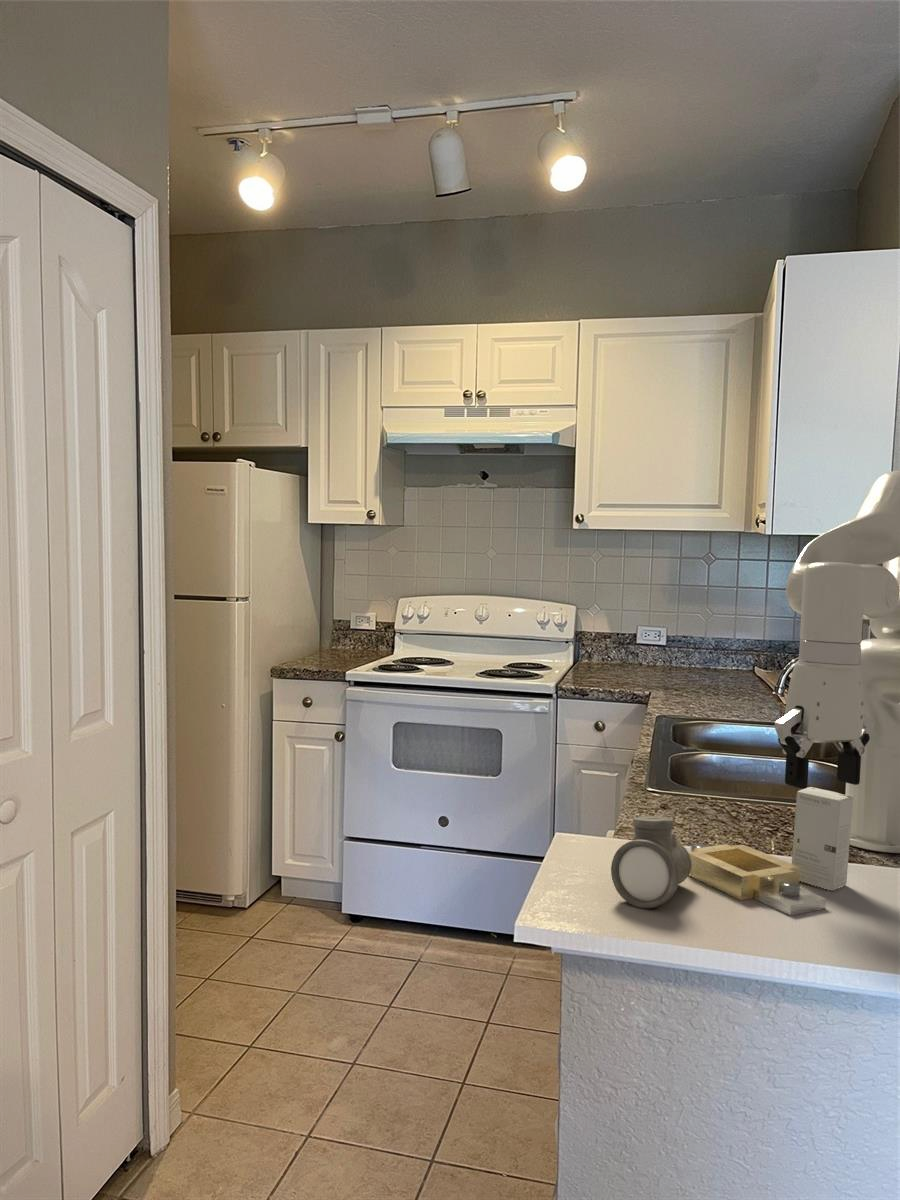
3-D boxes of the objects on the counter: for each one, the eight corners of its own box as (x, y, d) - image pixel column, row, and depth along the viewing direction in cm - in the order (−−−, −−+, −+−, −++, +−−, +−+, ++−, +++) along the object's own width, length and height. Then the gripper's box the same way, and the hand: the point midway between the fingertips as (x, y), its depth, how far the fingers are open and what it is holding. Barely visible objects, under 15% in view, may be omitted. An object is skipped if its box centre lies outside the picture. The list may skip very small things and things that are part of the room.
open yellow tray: (711, 852, 129) (712, 832, 129) (837, 906, 109) (838, 882, 109) (657, 860, 124) (658, 839, 124) (778, 917, 105) (779, 892, 105)
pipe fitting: (673, 914, 104) (672, 825, 105) (609, 904, 108) (609, 819, 109) (704, 896, 114) (703, 815, 115) (644, 888, 118) (643, 810, 119)
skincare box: (789, 879, 118) (793, 790, 118) (804, 872, 121) (808, 785, 121) (834, 893, 114) (839, 800, 113) (849, 885, 117) (854, 795, 116)
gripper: (850, 654, 124) (844, 775, 124) (759, 652, 116) (752, 781, 116) (898, 659, 117) (891, 787, 117) (805, 657, 109) (797, 794, 109)
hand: (822, 784), depth 117 cm, fingers open, 9 cm apart
